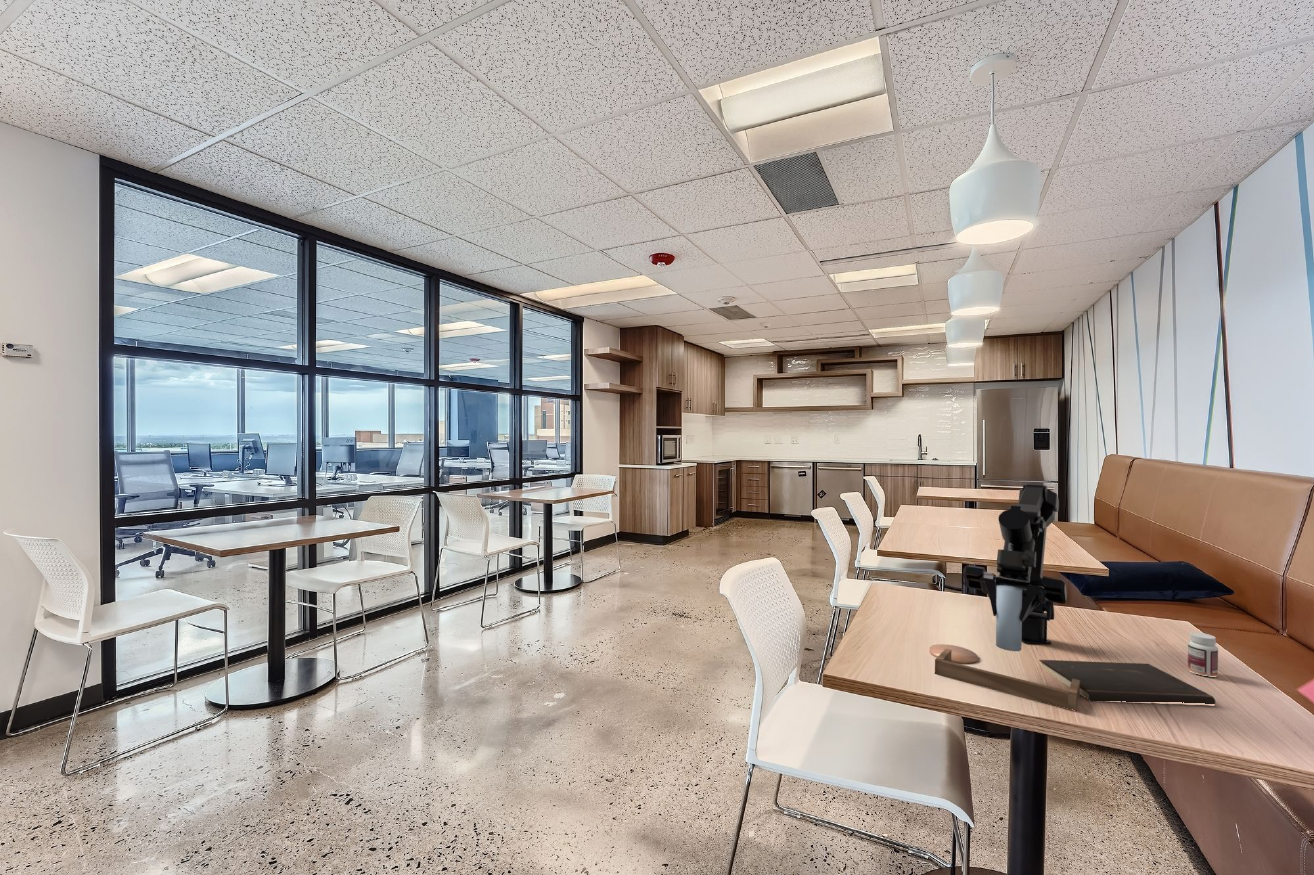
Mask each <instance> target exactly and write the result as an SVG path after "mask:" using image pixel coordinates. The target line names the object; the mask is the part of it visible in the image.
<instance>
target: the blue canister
mask: <svg viewBox="0 0 1314 875" xmlns="http://www.w3.org/2000/svg"><path fill="white" fill-rule="evenodd" d="M996 588H997V599H996V616H995V619H996V620H995V621H996V623H995V646H996V647H997V648H999V649H1002V650H1005V651H1010V652H1020V651H1022V644H1023V643H1022V621H1021V620H1020V617H1021V610H1022V589H1020V588H1017V587H1013V586H1004V585H1001V586H999V585H997V587H996Z"/></svg>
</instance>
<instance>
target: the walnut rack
mask: <svg viewBox="0 0 1314 875" xmlns="http://www.w3.org/2000/svg"><path fill="white" fill-rule="evenodd" d="M951 652H952V650H950V649H945V650H944V651H943V652H942V653H941V654H940V655H939V656H938V657H935V658H934V674H935V675H939V676H940V677H941V676H942V677H947V678H950V679H953V680H956V681H961V682H963V683H969V684H971V685H976V686H979V687H982V688H983V687H984V688H987V689H990V690H994V691H997V692H1002V693H1005V694H1009V695H1012V696H1013V695H1014V696H1017V697H1021V698H1024V699H1028V700H1031V701H1035V700H1037V701H1036V702H1038V703H1043V702H1044V704H1046V703H1049V704H1048V705H1050V704H1052V705H1051V706H1054V705H1057V706H1056V707H1058V706H1060V707H1059V708H1061V707H1065V708H1068V709H1067V710H1069V709H1073V710H1076V711H1077V708H1076V707H1078V703H1079V700H1080V695H1081V694H1080V680H1077V679H1072V682H1071V685H1070V687H1069V689H1068V690H1066V689H1061V688H1058V687H1053V686H1050V685H1045V684H1041V683H1038V682H1034V681H1029V680H1025V679H1021V678H1017V677H1014V676H1013V677H1012V676H1010V675H1005V674H1000V673H997V672H994V671H989V670H986V669H981V668H977V667H973V666H969V665H966V664H962V663H954V662H951ZM1065 708H1064V709H1065Z"/></svg>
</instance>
